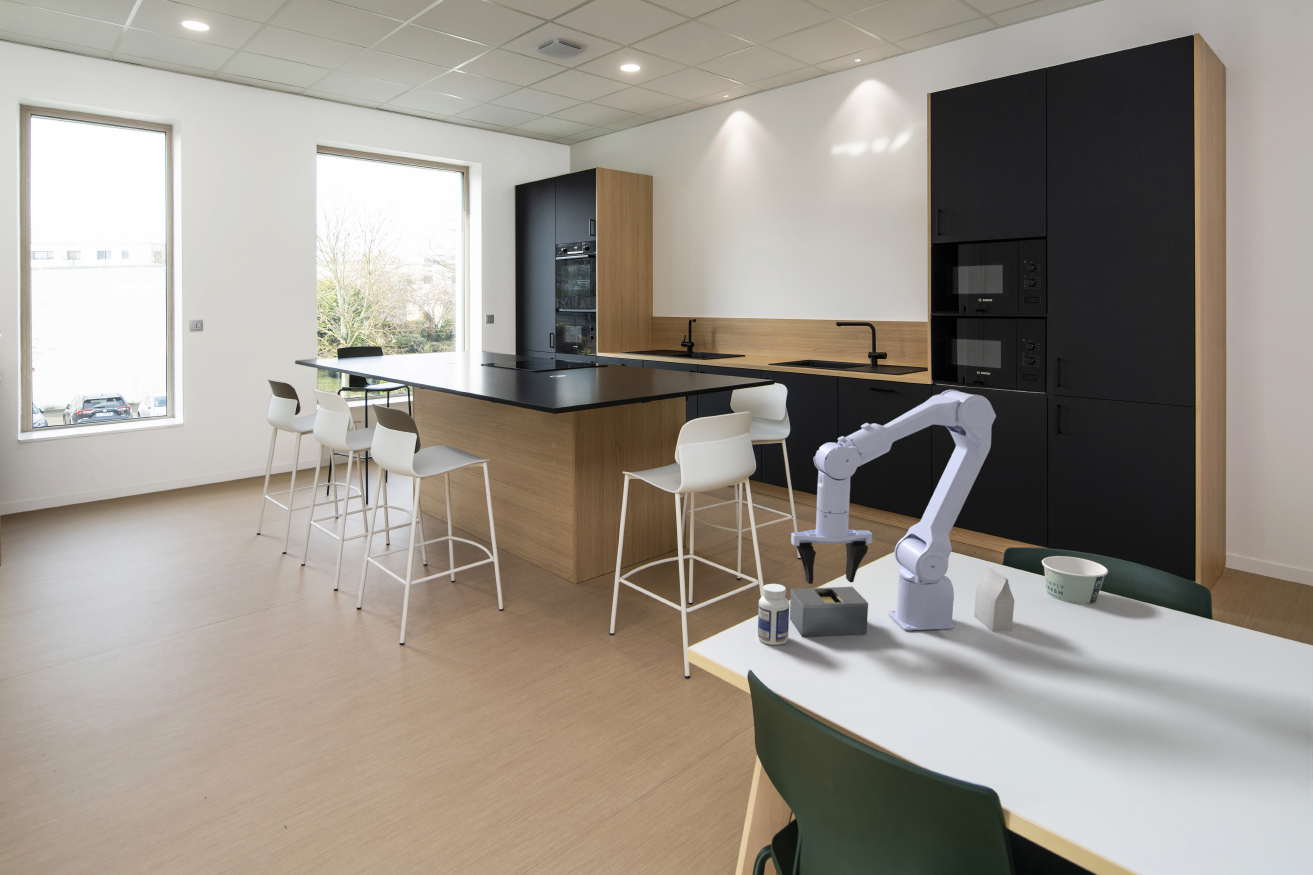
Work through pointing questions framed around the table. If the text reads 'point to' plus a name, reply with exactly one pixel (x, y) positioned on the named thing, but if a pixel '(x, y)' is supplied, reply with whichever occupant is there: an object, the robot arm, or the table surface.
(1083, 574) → the food container
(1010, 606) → the white gabled box
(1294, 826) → the table surface
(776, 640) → the pill bottle
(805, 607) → the grey slotted block
